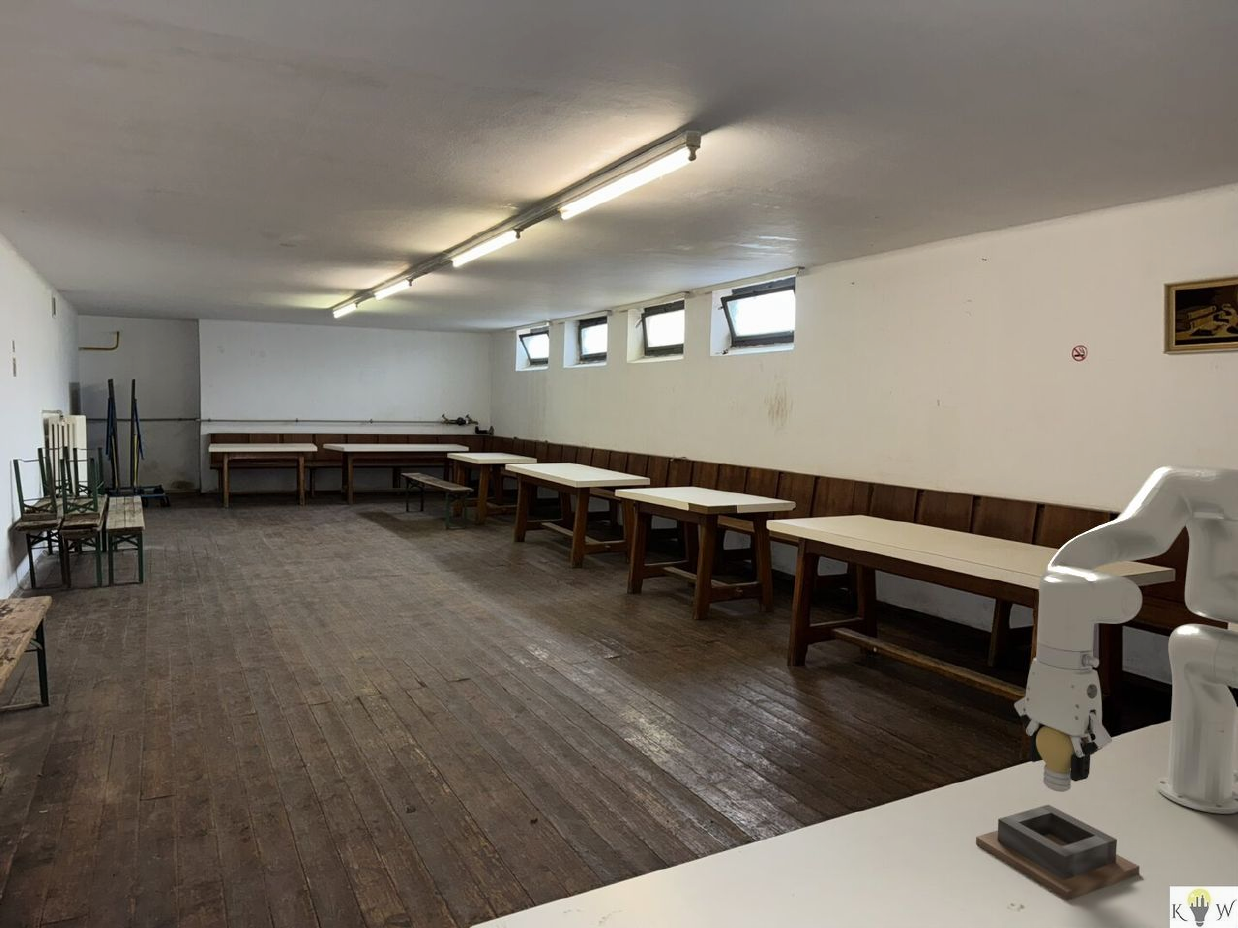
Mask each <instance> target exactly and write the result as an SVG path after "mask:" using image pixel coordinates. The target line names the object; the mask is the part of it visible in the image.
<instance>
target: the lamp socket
mask: <svg viewBox="0 0 1238 928" xmlns="http://www.w3.org/2000/svg"><path fill="white" fill-rule="evenodd" d="M997 821H998V822H997V830H995V831H991V832H987V833H985V834H981V835H977V836H976V837H975V839H976V840H975V844H976V845H977V846H979V847H980V848H982V849H984V850H986V851H987V852H989V854H992V855H993V856H995V857H997V858H998V859H1000V860H1001V861H1003V862H1005V863H1006V864H1008V865H1009V866H1011V867H1013V868H1014V869H1016V870H1018V871H1019V872H1021V873H1022V874H1024V875H1025V876H1027V877H1029V878H1031V880H1034V881H1036V882H1037V883H1038V884H1041V885H1042V886H1044V887H1045V888H1047V889H1048V890H1050V891H1052V892H1053V893H1055V894H1057V895H1058V896H1059V897H1061V898H1063V899H1064V900H1066V901H1069V900H1072V899H1074V898H1078V897H1080V896H1083V895H1086V894H1088V893H1090V892H1093V891H1097V890H1099V889H1101V888H1105V887H1106V886H1111V885H1113V884H1115V883H1118V882H1122V881H1124V880H1126V879H1129V878H1132V877H1134V876H1138V875H1140V868H1141V867H1140V865H1138V864H1136V863H1134V862H1133V861H1130V860H1128V859H1126V858H1124V857H1123V856H1121V855H1119V854H1118V853H1117V845H1118V843H1117V842H1118V839H1117V838H1115V837H1113V836H1111V835H1109V834H1107V833H1106V832H1103V831H1101V830H1100V829H1097V828H1095V827H1093V826H1091V825H1089V824H1088V823H1086V822H1083V821H1081V820H1079V819H1077V818H1075V817H1074V816H1073V815H1070V814H1069V813H1066V812H1063V811H1062V810H1060V809H1058V808H1056V807H1054V806H1053V805H1050V804H1046V805H1045V804H1044V805H1042V806H1039V807H1035V808H1031V809H1028V810H1025V811H1021V812H1018V813H1014V814H1010V815H1007V816H1004V817H1000V818H998V820H997Z"/></svg>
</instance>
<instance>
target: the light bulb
mask: <svg viewBox="0 0 1238 928" xmlns="http://www.w3.org/2000/svg"><path fill="white" fill-rule="evenodd" d="M1081 742H1082V740H1081ZM1082 745H1083V742H1082ZM1036 746H1037V749H1038V752H1039V754H1040V755H1041V757H1042V759H1043V760H1042V761H1044V763H1045V765H1044V766H1043V770H1044V771H1043V779H1042V782H1043V784H1044V785H1045V786H1046V787H1047V788H1048V789H1050V790H1053V791H1055V792H1060V793H1062V792H1063V793H1064V792H1067V791H1069V790H1070V789H1071V787H1072V785H1071V784H1072V780H1071V778H1070V772H1071V756H1072V755H1073V754H1076V753H1075V750H1074V747H1073V743H1072V740H1071V737H1070V735H1067V734H1065V733H1062V732H1060V731H1057V730H1055V729H1053V728H1050V727H1048V726H1043V727H1042V728H1041V729H1040V730H1039V732H1038V734H1037V737H1036ZM1083 746H1084V745H1083Z"/></svg>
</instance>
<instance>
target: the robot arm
mask: <svg viewBox="0 0 1238 928" xmlns="http://www.w3.org/2000/svg"><path fill="white" fill-rule="evenodd" d="M1122 509H1123V510H1122V511H1121V512H1120V513H1119V514H1118V516H1117V518H1115V519H1114V520H1111V521H1109V522H1107V523H1104V524H1101V525H1098V526H1096V527H1094V528H1092V529H1090V530H1088V531H1085V532H1083V533H1081V534H1079V535H1077V536H1075V537H1073V538H1072V539H1070V540H1068V541H1067V542H1066V543H1065V544H1063V545H1062V546H1061V547H1060V548H1059V550H1057V552H1056V553H1055V555H1054V556H1053V557H1052V558H1051V560H1050V562H1048V564H1047V565H1046V567H1045V568H1044V570H1043V572H1042V574H1041V576H1040V578H1039V582H1038V594H1039V595H1038V600H1039V601H1038V616H1037V635H1036V655H1035V657H1034V658H1032V662H1031V665H1030V669H1029V673H1028V677H1027V683H1026V690H1025V696H1024V697H1022V698H1021V699H1019V700H1017V701H1016V702H1014V705H1013V707H1014V708H1015V710H1016V712H1017V713H1018V715H1019V716H1020V720H1021V722H1022V724H1023V725H1024V727H1025V728H1026V729H1025V732H1026V734H1027V735H1028V736H1029V744H1028V745H1029V748H1028V753H1029V755H1028V756H1029V757H1028V758H1029V761H1030V762H1032V763H1036V762H1040V761H1044V760H1043V759H1042V757H1041V755H1040V754H1039V752H1038V749H1037V746H1036V737H1037V734H1038V732H1039V730H1040V729H1041V728H1042V727H1043V726H1048V727H1050V728H1053V729H1055V730H1057V731H1060V732H1062V733H1065V734H1067V735H1070V737H1071V740H1072V743H1073V747H1074V750H1075V753H1076V754H1073V755H1072V756H1071V769H1070V770H1071V772H1070V778H1071V781H1073V782H1079V781H1083V780H1086V779H1088V777H1089V775H1090V768H1091V756H1092V755H1095V753H1097V752H1098V751H1100V750H1102V749H1103V748H1105V747H1106V746H1108V745H1109V744H1111V743H1112V742H1113V738H1112V737H1111V736H1110V735H1111V734H1109V732H1108V731H1107V729H1106V728H1105V726H1104V725H1103V722H1102V720H1103V710H1102V709H1103V706H1102V705H1103V703H1102V689H1101V684H1100V679H1099V674H1098V671H1097V670H1095V669H1093V668H1098V667H1099V665H1100V659H1099V658H1096V657H1094V651H1093V650H1094V633H1095V624H1116V625H1117V624H1122V623H1126V622H1128V621H1130V620H1132V619H1134V618H1135V617H1136V616H1137V615H1138V613H1139V612H1140V610H1141V608H1142V604H1143V594H1142V591H1141V589H1140V588H1139V586H1138V585H1137V584H1136V583H1135V582H1134V581H1133V580H1131V579H1129V578H1128V577H1125V576H1122V575H1118V574H1113V573H1107V572H1103V571H1098V570H1096V569H1098V568H1100V567H1103V566H1106V565H1110V564H1115V563H1122V562H1131V561H1137V560H1144V559H1149V558H1153V557H1158V556H1160V555H1162V554H1165V553H1166V552H1167V551H1168V550H1169V549H1170V548H1171V546H1172V545H1173V543H1174V542H1175V540H1176V539H1177V537H1178V536H1179V535H1180V533H1182V530H1183V529H1184V528H1186V530H1187V533H1188V538H1189V543H1188V544H1189V549H1188V559H1187V566H1186V577H1185V585H1184V602H1185V606H1186V607H1187V609H1188V610H1189V611H1190V612H1192V613H1193V614H1195V615H1196V616H1197V615H1198V616H1201V617H1204V618H1207V619H1211V620H1215V621H1220V622H1225V623H1229V624H1234V625H1238V469H1235V468H1227V467H1226V468H1225V467H1217V466H1216V467H1212V466H1198V465H1197V466H1196V465H1181V464H1180V465H1179V464H1178V465H1177V464H1175V465H1173V464H1172V465H1171V464H1170V465H1165V466H1164V465H1163V466H1161V467H1159V468H1157V469H1154V470H1153V471H1152V472H1151V473H1150V474H1149V475H1148V477H1147V478H1146V479H1145V481H1144V482H1143V483H1142V485H1141V486H1140V487H1139V488H1138V489H1137V491H1136V492H1135V493H1134V495H1133V497H1132V498H1131V499H1130V500H1129V502H1128V503H1127V505H1125V507H1124V508H1122ZM1167 647H1168V648H1167V650H1168V656H1169V657H1168V659H1169V664H1170V670H1171V679H1172V680H1171V681H1172V696H1171V712H1170V729H1169V730H1170V732H1169V746H1168V747H1169V749H1168V751H1169V753H1168V766H1167V768H1168V769H1167V775H1164V776H1162V777H1159V778H1158V779H1157V783H1156V787H1157V790H1158V791H1159V792H1160V794H1162V796H1164V797H1165V798H1167V799H1169V800H1170V801H1171V802H1175V803H1176V804H1178V805H1181V806H1184V807H1187V808H1190V809H1194V810H1197V811H1201V812H1206V813H1212V814H1219V815H1220V814H1222V815H1223V814H1224V815H1225V814H1226V815H1227V814H1237V813H1238V793H1236V792H1235V791H1234V785H1235V783H1238V770H1237V769H1235V762H1236V761H1235V759H1236V757H1235V756H1236V744H1237V743H1236V741H1237V727H1238V725H1237V724H1238V706H1237V703H1236V700H1235V698H1234V696H1233V693H1232V692H1231V691H1230V690H1231V689H1229V687H1232V688H1235V689H1238V631H1235V630H1230V629H1226V628H1221V627H1217V626H1212V625H1208V624H1201V623H1200V624H1199V623H1188V624H1183V625H1180V626H1178V627H1176V628H1174V630H1173V631H1172V632H1171V634H1170V636H1169V640H1168V646H1167ZM1090 734H1091V735H1094V736H1095V737H1094V738H1095V739H1093V740H1092V738H1091V735H1090ZM1081 741H1082V742H1081ZM1082 744H1083V745H1082Z"/></svg>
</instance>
